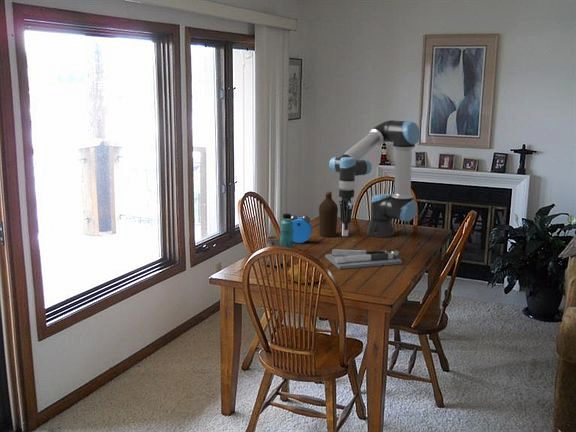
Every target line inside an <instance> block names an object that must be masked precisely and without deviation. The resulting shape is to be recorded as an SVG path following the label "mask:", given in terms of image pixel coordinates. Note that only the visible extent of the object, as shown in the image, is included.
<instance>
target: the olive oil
mask: <svg viewBox="0 0 576 432" xmlns="http://www.w3.org/2000/svg"><path fill="white" fill-rule="evenodd" d="M332 193H333V192H332V191H329V190H328V191H325V199H324V200H323V201H322V202H321V203H320V204H319V205H318V206H319V207H318V217H319V219H318V221H319V222H318V223H319V225H318V226H319V227H318V228H319V230H318V231H319V236H320V237H322V238H334V237H336V236H337V229H338V228H337V226H338V214H339V207H338V204H337V203H336V202H335V200H334V199H333V198H332Z"/></svg>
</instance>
